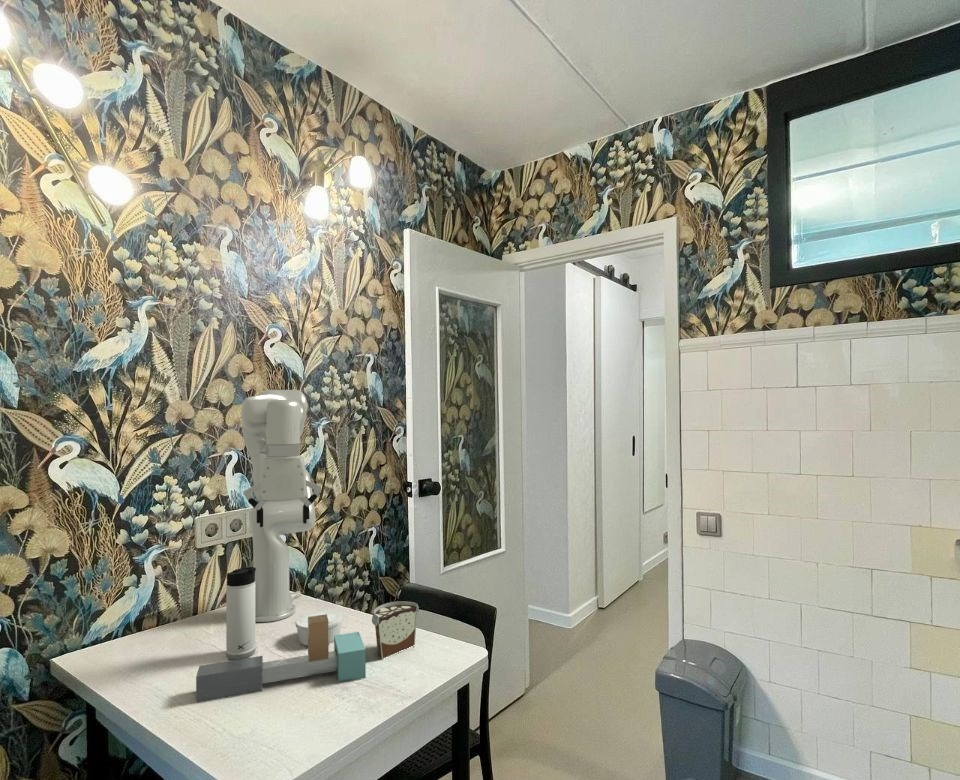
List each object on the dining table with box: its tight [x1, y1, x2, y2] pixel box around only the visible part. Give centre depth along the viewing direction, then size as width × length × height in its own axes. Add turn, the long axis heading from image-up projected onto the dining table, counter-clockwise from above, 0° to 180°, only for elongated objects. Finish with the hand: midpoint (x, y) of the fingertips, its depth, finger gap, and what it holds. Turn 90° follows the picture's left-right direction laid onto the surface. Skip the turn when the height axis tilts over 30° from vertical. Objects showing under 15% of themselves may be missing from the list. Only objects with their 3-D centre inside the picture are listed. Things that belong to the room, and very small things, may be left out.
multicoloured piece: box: [262, 614, 338, 685], centre depth 117 cm, size 19×4×11 cm, turn 110°
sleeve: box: [195, 655, 264, 703], centre depth 112 cm, size 12×5×5 cm, turn 110°
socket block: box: [333, 631, 367, 683], centre depth 120 cm, size 6×10×6 cm, turn 20°
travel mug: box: [225, 566, 256, 661], centre depth 129 cm, size 6×7×20 cm
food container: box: [371, 600, 420, 660], centre depth 131 cm, size 12×6×10 cm, turn 135°
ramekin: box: [295, 609, 343, 647], centre depth 137 cm, size 11×11×5 cm
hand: (283, 524), depth 130 cm, fingers open, 9 cm apart
